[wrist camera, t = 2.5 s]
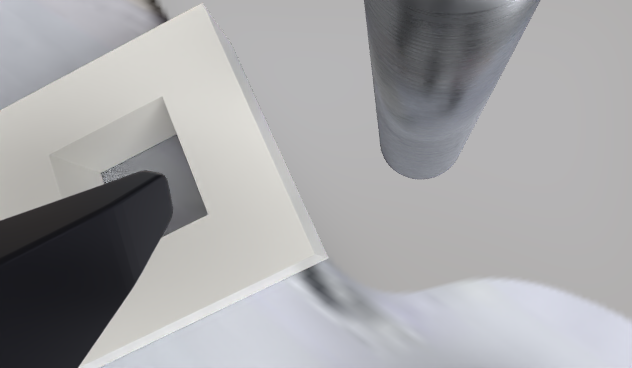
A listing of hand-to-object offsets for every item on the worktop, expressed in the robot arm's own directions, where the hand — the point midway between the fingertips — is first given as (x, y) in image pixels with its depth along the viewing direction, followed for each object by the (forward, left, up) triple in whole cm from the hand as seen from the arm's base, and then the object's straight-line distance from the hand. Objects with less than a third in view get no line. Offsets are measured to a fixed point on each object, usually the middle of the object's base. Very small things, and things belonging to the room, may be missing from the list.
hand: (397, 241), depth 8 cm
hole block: (+7, +9, -12) cm, 16 cm away
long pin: (+4, -3, -12) cm, 13 cm away
